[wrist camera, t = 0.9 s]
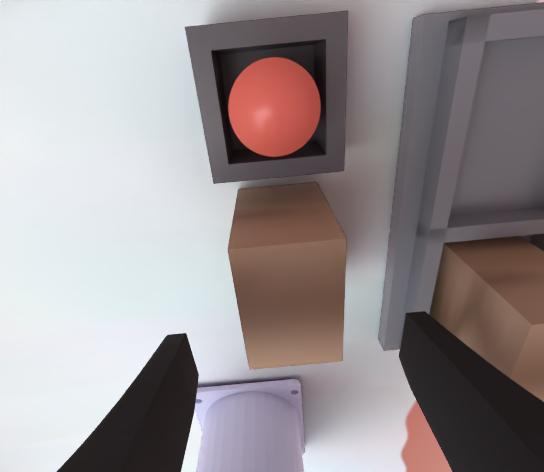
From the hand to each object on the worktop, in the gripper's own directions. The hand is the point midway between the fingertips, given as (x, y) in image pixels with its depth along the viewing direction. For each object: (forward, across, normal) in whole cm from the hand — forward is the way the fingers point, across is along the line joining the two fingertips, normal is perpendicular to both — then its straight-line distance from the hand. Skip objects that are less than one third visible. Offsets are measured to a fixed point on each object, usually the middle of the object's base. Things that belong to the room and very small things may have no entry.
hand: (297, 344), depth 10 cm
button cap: (+6, 0, -7) cm, 9 cm away
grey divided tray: (+8, -10, 0) cm, 13 cm away
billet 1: (+8, 0, 0) cm, 8 cm away
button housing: (+8, 0, -7) cm, 10 cm away
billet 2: (+7, -10, +4) cm, 13 cm away
